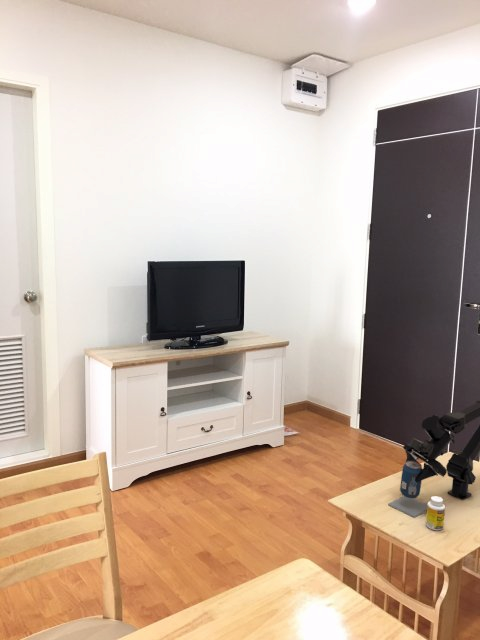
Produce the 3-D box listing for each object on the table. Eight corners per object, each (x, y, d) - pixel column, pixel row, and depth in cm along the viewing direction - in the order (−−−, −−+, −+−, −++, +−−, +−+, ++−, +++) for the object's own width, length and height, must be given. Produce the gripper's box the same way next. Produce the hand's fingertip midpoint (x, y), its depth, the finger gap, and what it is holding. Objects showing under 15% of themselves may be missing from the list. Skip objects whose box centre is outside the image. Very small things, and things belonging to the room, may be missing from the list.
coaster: (405, 496, 202) (405, 495, 202) (431, 508, 193) (431, 506, 193) (387, 505, 195) (388, 503, 195) (414, 517, 187) (414, 516, 186)
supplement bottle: (436, 533, 177) (438, 504, 176) (422, 525, 182) (424, 497, 180) (446, 528, 180) (449, 500, 179) (432, 520, 185) (435, 493, 183)
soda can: (409, 487, 199) (413, 458, 196) (423, 497, 193) (427, 467, 190) (395, 491, 196) (399, 461, 193) (408, 501, 190) (413, 470, 187)
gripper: (408, 422, 200) (381, 454, 198) (442, 441, 182) (413, 475, 180) (424, 440, 203) (398, 471, 202) (459, 459, 186) (430, 493, 184)
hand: (409, 477), depth 192 cm, fingers closed on soda can, 7 cm apart
